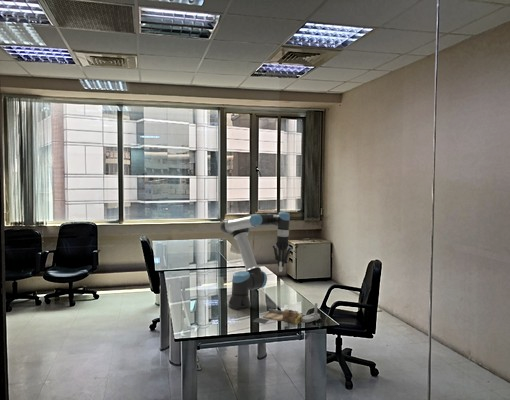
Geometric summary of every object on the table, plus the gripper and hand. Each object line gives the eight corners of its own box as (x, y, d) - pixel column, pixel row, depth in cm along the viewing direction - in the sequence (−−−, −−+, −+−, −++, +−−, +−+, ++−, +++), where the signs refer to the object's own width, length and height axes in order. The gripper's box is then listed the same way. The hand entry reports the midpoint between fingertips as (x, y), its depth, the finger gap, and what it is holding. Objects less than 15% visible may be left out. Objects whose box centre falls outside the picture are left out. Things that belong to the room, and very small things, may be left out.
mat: (252, 322, 246) (252, 321, 246) (257, 318, 254) (257, 317, 254) (264, 324, 243) (264, 323, 243) (269, 320, 251) (269, 320, 251)
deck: (263, 318, 254) (263, 316, 254) (269, 313, 265) (269, 311, 265) (294, 324, 246) (295, 322, 246) (300, 319, 256) (300, 317, 256)
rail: (263, 318, 254) (263, 312, 254) (269, 313, 265) (269, 308, 264) (296, 324, 246) (297, 319, 246) (301, 319, 256) (302, 314, 256)
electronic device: (300, 306, 253) (315, 301, 263) (299, 321, 254) (315, 316, 264) (306, 308, 249) (322, 304, 259) (305, 324, 250) (321, 318, 260)
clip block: (282, 320, 251) (283, 310, 251) (285, 318, 255) (285, 308, 255) (294, 323, 248) (295, 312, 248) (297, 320, 252) (297, 310, 252)
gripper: (271, 235, 264) (269, 271, 265) (290, 237, 258) (288, 273, 259) (275, 234, 270) (273, 269, 271) (294, 236, 265) (291, 271, 266)
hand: (280, 271), depth 265 cm, fingers closed
